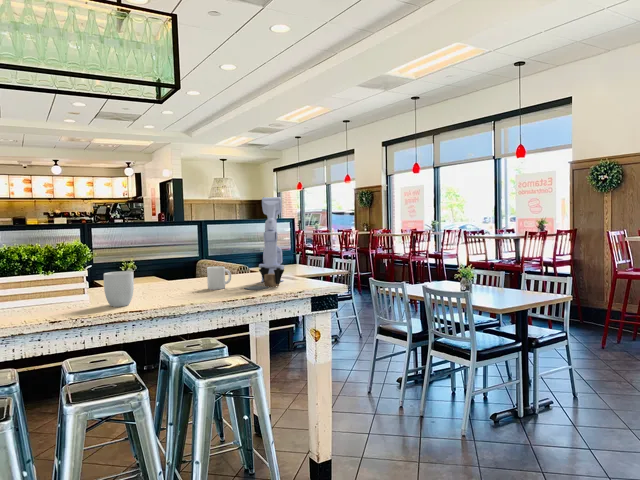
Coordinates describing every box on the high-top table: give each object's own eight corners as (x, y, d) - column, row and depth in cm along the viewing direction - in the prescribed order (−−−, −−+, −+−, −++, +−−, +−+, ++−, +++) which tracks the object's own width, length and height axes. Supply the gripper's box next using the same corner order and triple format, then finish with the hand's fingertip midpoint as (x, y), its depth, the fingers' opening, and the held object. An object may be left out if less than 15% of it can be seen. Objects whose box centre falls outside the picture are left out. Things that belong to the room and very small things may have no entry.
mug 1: (113, 301, 202) (111, 270, 201) (140, 300, 203) (139, 269, 202) (100, 308, 187) (99, 274, 186) (130, 307, 188) (128, 274, 187)
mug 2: (228, 285, 241) (227, 265, 240) (235, 287, 234) (234, 266, 234) (205, 288, 234) (204, 267, 233) (211, 290, 227) (211, 268, 227)
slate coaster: (244, 289, 229) (244, 287, 229) (255, 286, 236) (255, 285, 236) (256, 290, 225) (256, 289, 225) (268, 287, 231) (268, 286, 231)
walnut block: (264, 286, 236) (264, 274, 235) (271, 285, 240) (271, 273, 240) (272, 287, 233) (272, 275, 233) (279, 286, 237) (278, 273, 237)
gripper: (254, 255, 236) (255, 283, 237) (277, 256, 228) (278, 285, 229) (264, 254, 242) (264, 281, 243) (286, 255, 234) (287, 283, 235)
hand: (271, 283), depth 236 cm, fingers open, 7 cm apart
